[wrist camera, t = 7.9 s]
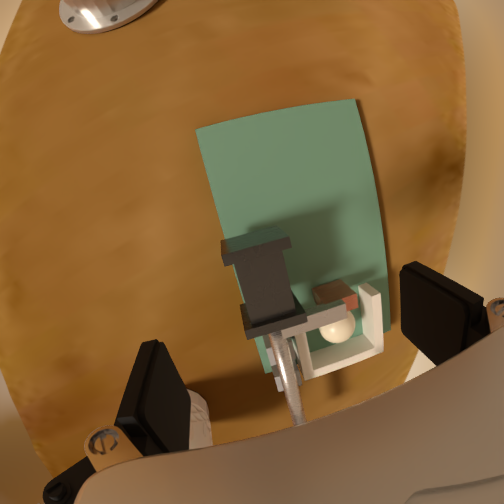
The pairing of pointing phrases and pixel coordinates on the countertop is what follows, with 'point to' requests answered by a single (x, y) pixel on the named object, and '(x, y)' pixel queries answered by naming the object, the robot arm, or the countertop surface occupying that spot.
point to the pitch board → (302, 201)
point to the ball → (339, 329)
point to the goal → (349, 349)
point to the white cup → (199, 422)
